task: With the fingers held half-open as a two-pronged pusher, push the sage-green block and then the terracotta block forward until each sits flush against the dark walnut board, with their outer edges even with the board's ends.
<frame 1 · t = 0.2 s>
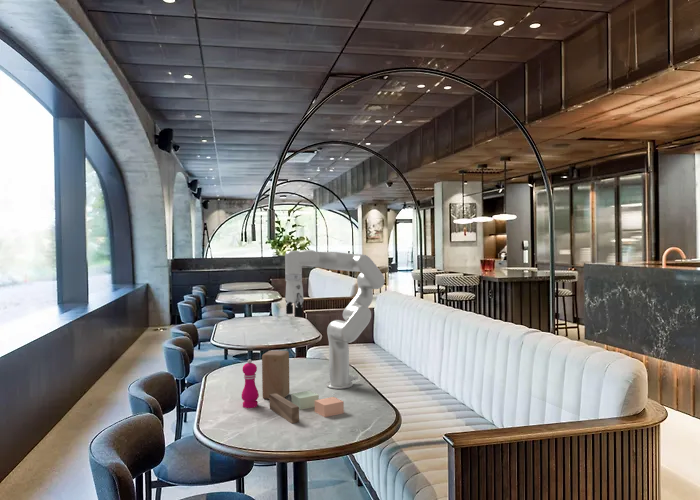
hand: (294, 315, 250), 36 cm above the table, tool pointing down, fingers open, 9 cm apart
terracotta block: (329, 413, 222), on the table
walnut board: (283, 415, 219), on the table
pepper mill: (250, 406, 232), on the table
wooden block: (276, 397, 246), on the table
sage block: (305, 406, 232), on the table
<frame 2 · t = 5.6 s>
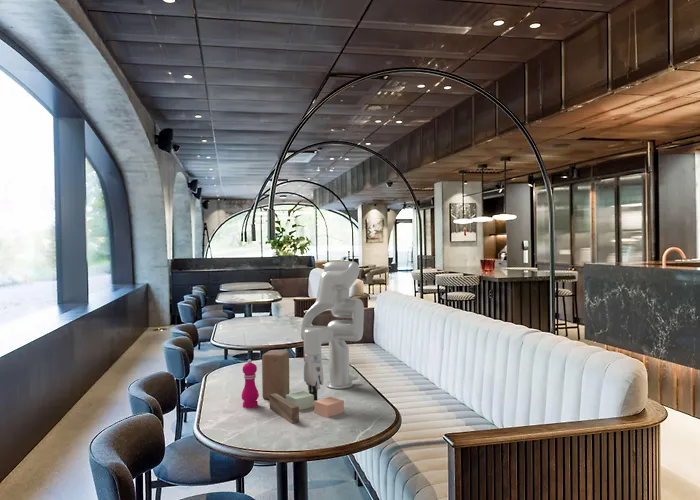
hand: (313, 400, 234), 2 cm above the table, tool pointing down, fingers closed
sage block: (299, 406, 231), on the table
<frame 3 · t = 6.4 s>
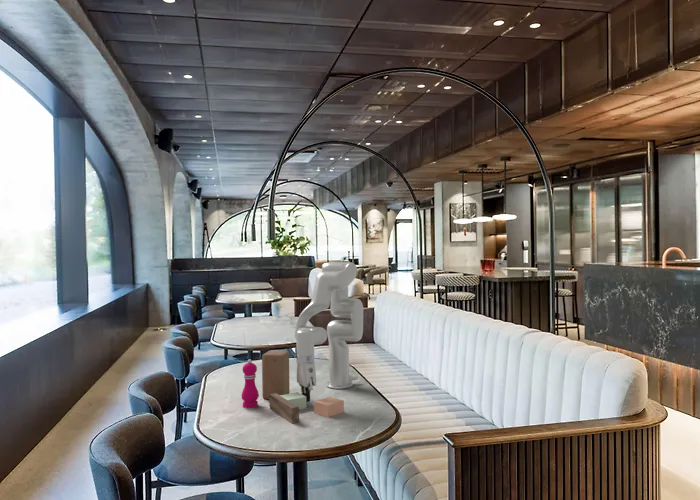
hand: (306, 401, 232), 2 cm above the table, tool pointing down, fingers closed
sage block: (292, 407, 230), on the table, touching gripper
everything else where it was.
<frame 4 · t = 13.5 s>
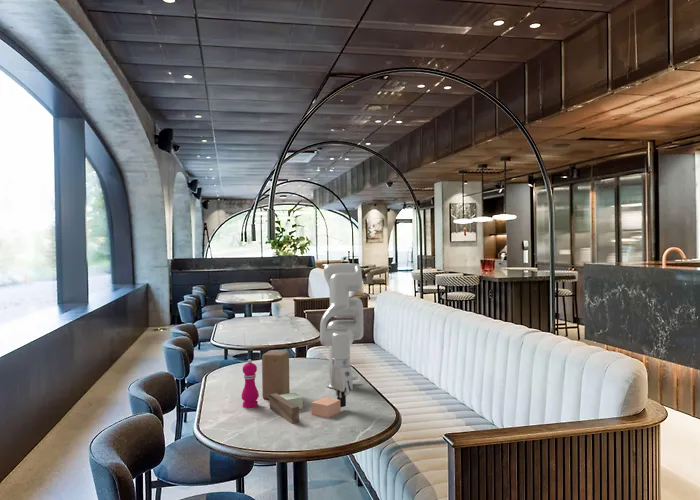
hand: (341, 406, 225), 2 cm above the table, tool pointing down, fingers closed
terracotta block: (326, 413, 222), on the table
sage block: (289, 408, 229), on the table
everything else where it was.
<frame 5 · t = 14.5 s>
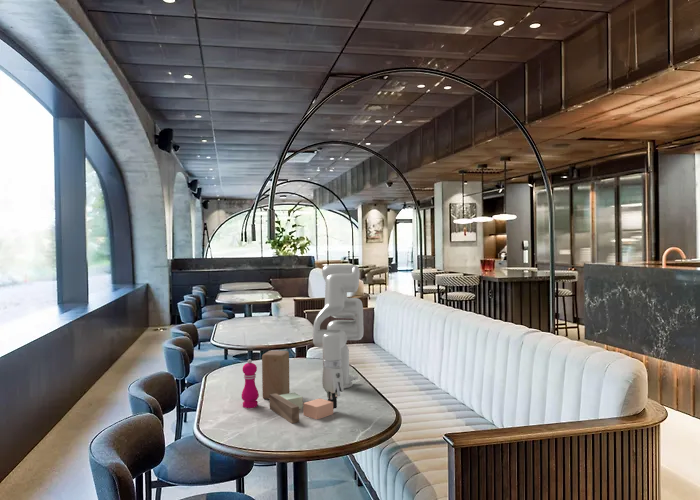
hand: (332, 408, 223), 2 cm above the table, tool pointing down, fingers closed
terracotta block: (318, 414, 220), on the table
everything else where it was.
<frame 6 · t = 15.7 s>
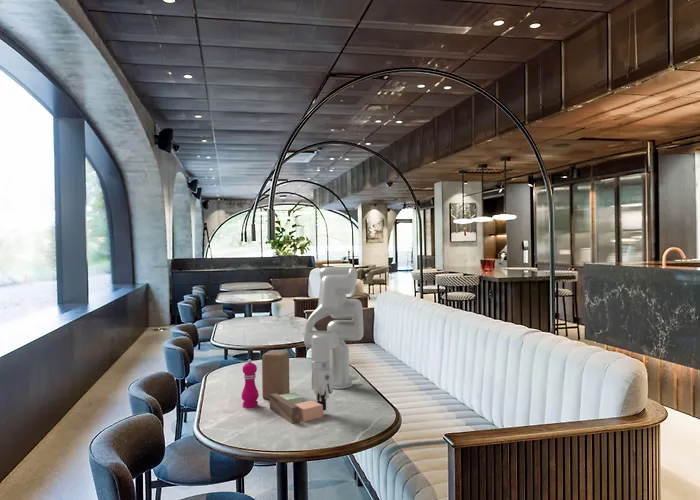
hand: (321, 410, 220), 2 cm above the table, tool pointing down, fingers closed
terracotta block: (307, 417, 217), on the table
everything else where it was.
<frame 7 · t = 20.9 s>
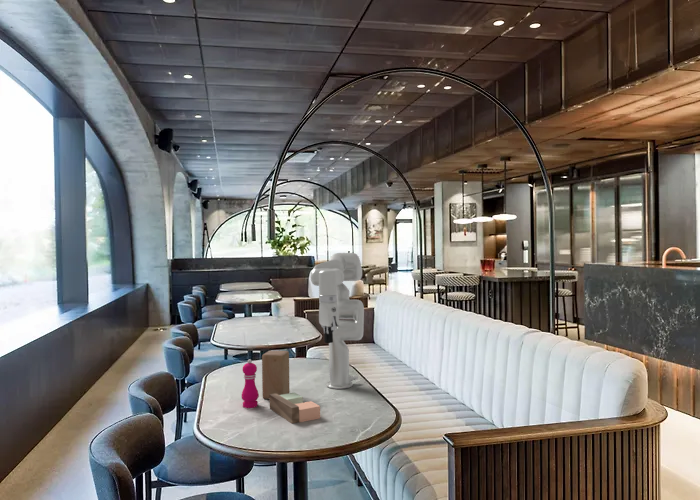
hand: (328, 342, 230), 27 cm above the table, tool pointing down, fingers closed
terracotta block: (305, 418, 216), on the table
everything else where it was.
at the end: sage block 1.1 cm from the target spot on the table beside the walnut board, on the table; terracotta block 0.2 cm from the target spot on the table beside the walnut board, on the table; terracotta block tilted 0° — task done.
